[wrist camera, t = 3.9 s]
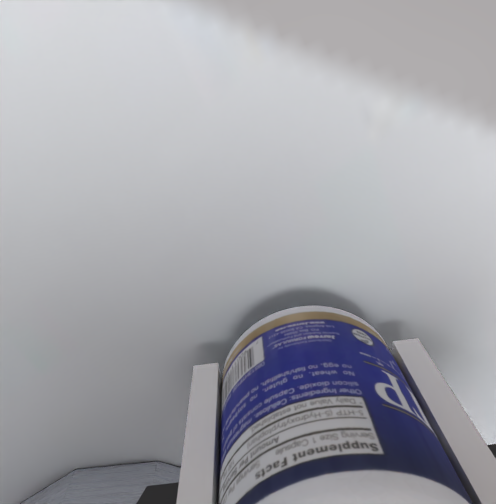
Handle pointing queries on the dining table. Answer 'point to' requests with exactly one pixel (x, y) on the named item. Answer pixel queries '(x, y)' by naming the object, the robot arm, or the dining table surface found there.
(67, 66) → the dining table surface
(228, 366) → the pill bottle
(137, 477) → the hub
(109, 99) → the dining table surface
